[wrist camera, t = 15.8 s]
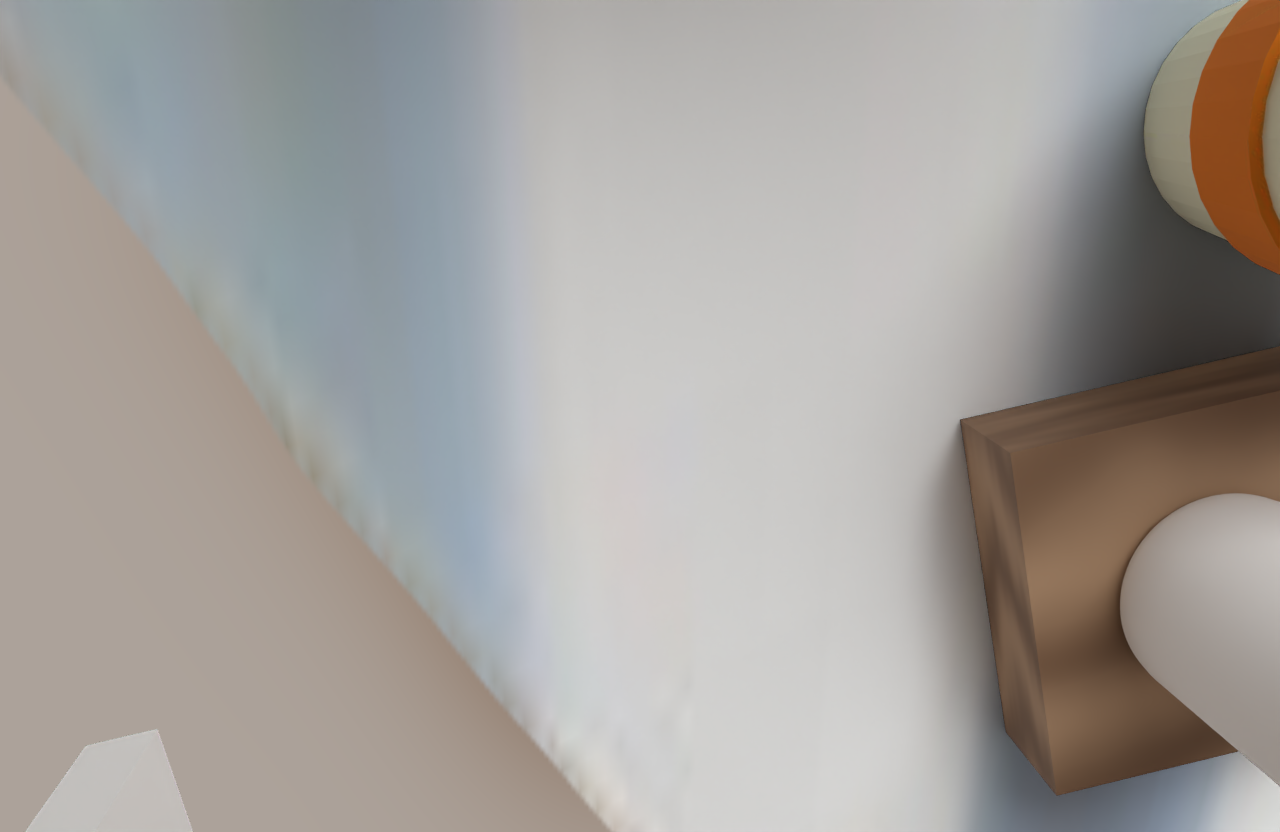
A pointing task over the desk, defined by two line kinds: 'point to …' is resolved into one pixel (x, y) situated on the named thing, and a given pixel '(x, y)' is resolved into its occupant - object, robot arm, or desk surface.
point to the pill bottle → (1214, 617)
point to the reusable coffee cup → (1222, 128)
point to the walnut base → (1105, 552)
